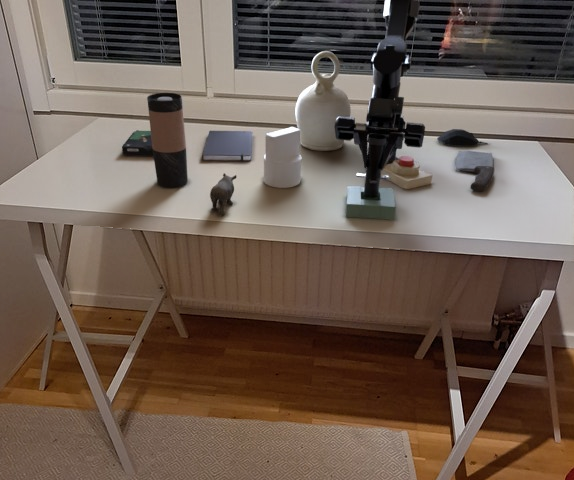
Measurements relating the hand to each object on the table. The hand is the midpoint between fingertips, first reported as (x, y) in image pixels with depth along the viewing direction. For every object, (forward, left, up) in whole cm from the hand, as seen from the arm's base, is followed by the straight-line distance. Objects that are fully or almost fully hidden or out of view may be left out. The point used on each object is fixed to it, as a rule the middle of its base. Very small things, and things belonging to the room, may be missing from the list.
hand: (373, 168), depth 116 cm
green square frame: (-1, +1, -10) cm, 10 cm away
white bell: (-43, +16, -10) cm, 47 cm away
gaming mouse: (-25, +54, -10) cm, 60 cm away
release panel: (-11, +19, -10) cm, 24 cm away
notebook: (-52, -9, -10) cm, 54 cm away
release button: (-11, +19, -6) cm, 23 cm away
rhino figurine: (-18, -26, -10) cm, 33 cm away
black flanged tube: (-1, +1, -7) cm, 7 cm away
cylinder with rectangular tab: (-24, -8, -10) cm, 27 cm away
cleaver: (-7, +40, -10) cm, 41 cm away
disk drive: (-62, -29, -10) cm, 69 cm away
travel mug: (-35, -32, -10) cm, 48 cm away
